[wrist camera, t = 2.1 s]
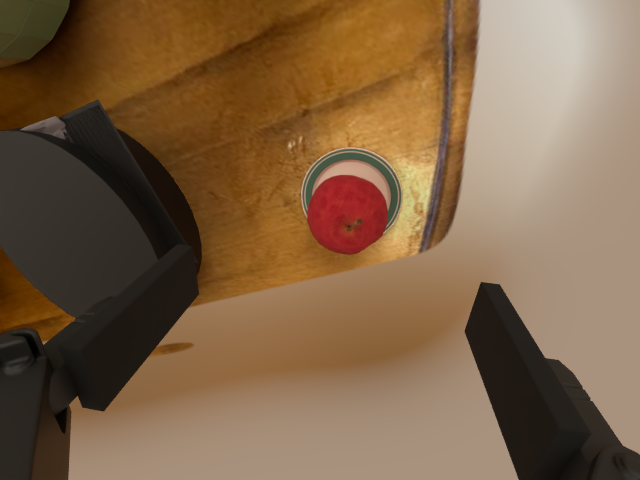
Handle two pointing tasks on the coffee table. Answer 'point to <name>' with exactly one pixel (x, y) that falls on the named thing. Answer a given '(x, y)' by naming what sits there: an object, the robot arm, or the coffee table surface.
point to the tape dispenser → (86, 208)
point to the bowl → (28, 27)
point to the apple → (350, 199)
